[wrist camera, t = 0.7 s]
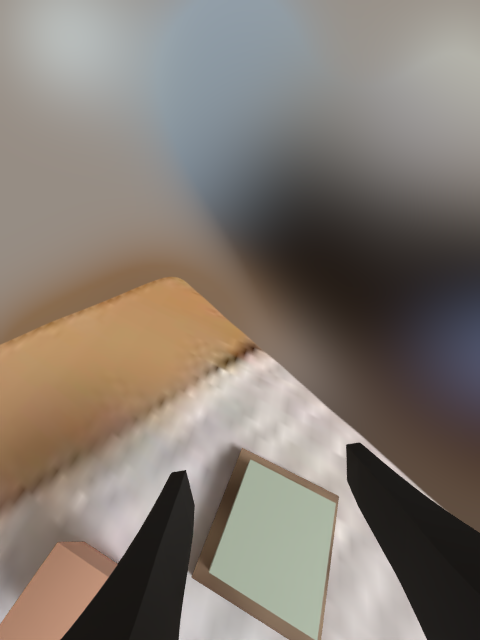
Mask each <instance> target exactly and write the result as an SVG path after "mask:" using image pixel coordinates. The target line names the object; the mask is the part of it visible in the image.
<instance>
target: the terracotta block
mask: <svg viewBox="0 0 480 640" xmlns="http://www.w3.org/2000/svg"><path fill="white" fill-rule="evenodd" d="M117 565H118V564H117V563H115V562H114V561H112V560H111V559H109V558H108V557H106V556H105V555H103V554H102V553H100V552H99V551H97V550H96V549H94V548H93V547H91V546H90V545H88V544H87V543H86V542H57V544H56V545H55V547H54V548H53V549H52V551H51V552H50V554H49V555H48V557H47V558H46V559H45V561H44V562H43V564H42V565H41V567H40V568H39V569H38V571H37V572H36V574H35V575H34V577H33V578H32V579H31V581H30V582H29V584H28V585H27V587H26V588H25V589H24V591H23V592H22V594H21V595H20V597H19V598H18V599H17V601H16V602H15V604H14V605H13V607H12V608H11V609H10V611H9V612H8V614H7V615H6V617H5V618H4V619H3V621H2V622H1V624H0V640H60V639H61V638H62V637H63V636H64V635H65V634H66V632H67V631H68V630H69V629H70V627H71V626H72V625H73V624H74V622H75V621H76V620H77V619H78V617H79V616H80V615H81V614H82V612H83V611H84V610H85V608H86V607H87V606H88V604H89V603H90V602H91V600H92V599H93V598H94V596H95V595H96V594H97V593H98V591H99V590H100V589H101V587H102V586H103V584H104V583H105V582H106V580H107V579H108V577H109V576H110V575H111V573H112V572H113V570H114V569H115V567H116V566H117Z"/></svg>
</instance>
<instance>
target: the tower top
mask: <svg viewBox="0 0 480 640" xmlns="http://www.w3.org/2000/svg"><path fill="white" fill-rule="evenodd" d="M335 506H336V503H334V502H332V501H330V500H328V499H326V498H324V497H323V496H321V495H319V494H317V493H315V492H313V491H311V490H309V489H307V488H305V487H303V486H301V485H299V484H297V483H295V482H293V481H291V480H290V479H288V478H286V477H284V476H282V475H280V474H278V473H276V472H274V471H272V470H270V469H268V468H266V467H264V466H262V465H260V464H258V463H257V462H255V461H253V460H251V459H250V461H249V463H248V465H247V468H246V471H245V473H244V476H243V479H242V482H241V484H240V487H239V490H238V492H237V495H236V498H235V500H234V503H233V506H232V509H231V511H230V514H229V517H228V519H227V522H226V525H225V528H224V530H223V533H222V536H221V538H220V541H219V544H218V547H217V549H216V552H215V555H214V557H213V560H212V563H211V566H210V568H209V573H211V574H212V575H214V576H215V577H217V578H218V579H220V580H222V581H223V582H225V583H226V584H228V585H229V586H231V587H233V588H234V589H236V590H237V591H239V592H240V593H242V594H244V595H245V596H247V597H248V598H250V599H251V600H253V601H255V602H256V603H258V604H259V605H261V606H262V607H264V608H266V609H267V610H269V611H270V612H272V613H273V614H275V615H277V616H278V617H280V618H281V619H283V620H284V621H286V622H288V623H289V624H291V625H292V626H294V627H295V628H297V629H299V630H300V631H302V632H303V633H305V634H306V635H308V636H310V637H311V638H313V639H314V640H317V639H318V632H319V624H320V617H321V609H322V602H323V595H324V587H325V580H326V573H327V565H328V558H329V551H330V543H331V536H332V528H333V521H334V514H335Z"/></svg>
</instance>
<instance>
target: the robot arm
mask: <svg viewBox="0 0 480 640" xmlns="http://www.w3.org/2000/svg"><path fill="white" fill-rule="evenodd" d="M346 451H347V481H348V484H349V486H350V488H351V491H352V493H353V495H354V498H355V500H356V502H357V504H358V507H359V508H360V510H361V512H362V514H363V516H364V518H365V519H366V521H367V523H368V525H369V527H370V528H371V530H372V532H373V534H374V536H375V537H376V539H377V541H378V543H379V545H380V546H381V548H382V550H383V552H384V554H385V555H386V557H387V559H388V561H389V563H390V564H391V566H392V568H393V570H394V572H395V574H396V575H397V577H398V579H399V581H400V583H401V585H402V587H403V589H404V591H405V593H406V595H407V598H408V600H409V602H410V604H411V606H412V608H413V610H414V612H415V615H416V617H417V619H418V621H419V623H420V625H421V627H422V630H423V632H424V634H425V636H426V638H427V640H480V533H479V532H477V531H476V530H474V529H473V528H471V527H470V526H468V525H467V524H465V523H463V522H462V521H461V520H459V519H458V518H456V517H455V516H453V515H451V514H450V513H449V512H447V511H446V510H444V509H443V508H442V507H440V506H439V505H437V504H436V503H435V502H433V501H432V500H431V499H429V498H428V497H426V496H425V495H424V494H422V493H421V492H420V491H418V490H417V489H416V488H415V487H413V486H412V485H411V484H409V483H408V482H407V481H406V480H404V479H403V478H402V477H401V476H399V475H398V474H397V473H396V472H394V471H393V470H392V469H391V468H389V467H388V466H387V465H386V464H385V463H384V462H382V461H381V460H380V459H379V458H378V457H376V456H375V455H374V454H373V453H372V452H371V451H369V450H368V449H367V448H366V447H365V446H364V445H362V444H361V443H354V444H348V445H346ZM194 507H195V505H194V501H193V497H192V493H191V489H190V485H189V481H188V477H187V473H186V470H184V471H178V472H172V473H171V474H170V476H169V478H168V480H167V482H166V484H165V486H164V488H163V490H162V492H161V493H160V495H159V497H158V499H157V501H156V503H155V504H154V506H153V508H152V510H151V511H150V513H149V515H148V517H147V518H146V520H145V522H144V524H143V525H142V527H141V529H140V530H139V532H138V533H137V535H136V537H135V538H134V540H133V541H132V543H131V545H130V546H129V548H128V549H127V551H126V553H125V554H124V556H123V557H122V559H121V560H120V562H119V563H118V565H117V566H116V567H115V569H114V570H113V572H112V573H111V575H110V576H109V577H108V579H107V580H106V582H105V583H104V584H103V586H102V587H101V589H100V590H99V591H98V593H97V594H96V595H95V596H94V598H93V599H92V600H91V602H90V603H89V604H88V606H87V607H86V608H85V610H84V611H83V612H82V614H81V615H80V616H79V617H78V619H77V620H76V621H75V622H74V624H73V625H72V626H71V627H70V629H69V630H68V631H67V632H66V634H65V635H64V636H63V637H62V638H61V639H60V640H179V628H180V619H181V611H182V604H183V597H184V590H185V584H186V577H187V571H188V564H189V558H190V551H191V544H192V537H193V526H194Z"/></svg>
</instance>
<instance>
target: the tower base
mask: <svg viewBox="0 0 480 640" xmlns="http://www.w3.org/2000/svg"><path fill="white" fill-rule="evenodd" d="M250 459H251V460H253V461H255V462H257V463H258V464H260V465H262V466H264V467H266V468H268V469H270V470H272V471H274V472H276V473H278V474H280V475H282V476H284V477H286V478H288V479H290V480H291V481H293V482H295V483H297V484H299V485H301V486H303V487H305V488H307V489H309V490H311V491H313V492H315V493H317V494H319V495H321V496H323V497H324V498H326V499H328V500H330V501H332V502H334V503H336V506H335V514H334V521H333V528H332V536H331V543H330V551H329V558H328V565H327V573H326V580H325V587H324V595H323V602H322V609H321V617H320V624H319V632H318V639H317V640H321V635H322V627H323V619H324V611H325V603H326V595H327V587H328V579H329V571H330V563H331V555H332V547H333V539H334V531H335V523H336V515H337V507H338V499H339V496H337V495H335V494H333V493H331V492H329V491H327V490H325V489H323V488H321V487H319V486H317V485H315V484H313V483H311V482H309V481H307V480H305V479H303V478H301V477H299V476H297V475H295V474H293V473H291V472H289V471H287V470H285V469H283V468H281V467H279V466H277V465H275V464H273V463H271V462H269V461H267V460H265V459H263V458H261V457H259V456H257V455H255V454H253V453H251V452H249V451H247V450H245V449H243V448H242V449H241V452H240V454H239V457H238V460H237V462H236V465H235V467H234V470H233V472H232V475H231V477H230V480H229V483H228V485H227V488H226V490H225V493H224V495H223V498H222V500H221V503H220V506H219V508H218V511H217V513H216V516H215V518H214V521H213V523H212V526H211V529H210V531H209V534H208V536H207V539H206V541H205V544H204V546H203V549H202V552H201V554H200V557H199V559H198V562H197V564H196V567H195V569H194V572H193V575H192V578H193V579H195V580H196V581H198V582H199V583H201V584H203V585H204V586H206V587H207V588H209V589H210V590H212V591H214V592H215V593H217V594H218V595H220V596H221V597H223V598H225V599H226V600H228V601H229V602H231V603H232V604H234V605H236V606H237V607H239V608H240V609H242V610H243V611H245V612H247V613H248V614H250V615H251V616H253V617H254V618H256V619H258V620H259V621H261V622H262V623H264V624H265V625H267V626H269V627H270V628H272V629H273V630H275V631H276V632H278V633H280V634H281V635H283V636H284V637H286V638H287V639H289V640H314V639H313V638H311V637H310V636H308V635H306V634H305V633H303V632H302V631H300V630H299V629H297V628H295V627H294V626H292V625H291V624H289V623H288V622H286V621H284V620H283V619H281V618H280V617H278V616H277V615H275V614H273V613H272V612H270V611H269V610H267V609H266V608H264V607H262V606H261V605H259V604H258V603H256V602H255V601H253V600H251V599H250V598H248V597H247V596H245V595H244V594H242V593H240V592H239V591H237V590H236V589H234V588H233V587H231V586H229V585H228V584H226V583H225V582H223V581H222V580H220V579H218V578H217V577H215V576H214V575H212V574H211V573H209V568H210V566H211V563H212V560H213V557H214V555H215V552H216V549H217V547H218V544H219V541H220V538H221V536H222V533H223V530H224V528H225V525H226V522H227V519H228V517H229V514H230V511H231V509H232V506H233V503H234V500H235V498H236V495H237V492H238V490H239V487H240V484H241V482H242V479H243V476H244V473H245V471H246V468H247V465H248V463H249V461H250Z"/></svg>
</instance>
